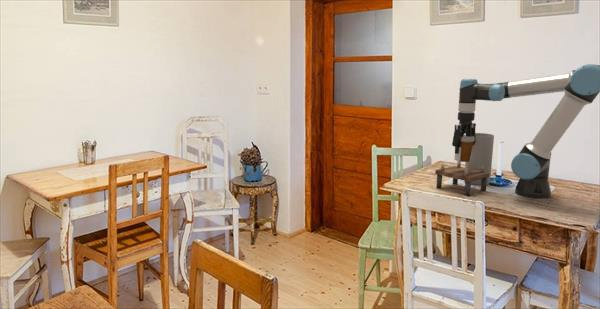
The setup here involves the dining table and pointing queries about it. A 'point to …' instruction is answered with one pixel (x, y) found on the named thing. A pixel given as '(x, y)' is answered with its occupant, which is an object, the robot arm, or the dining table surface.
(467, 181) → the peg shelf stand
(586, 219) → the dining table surface
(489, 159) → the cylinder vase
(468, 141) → the disposable coffee cup
